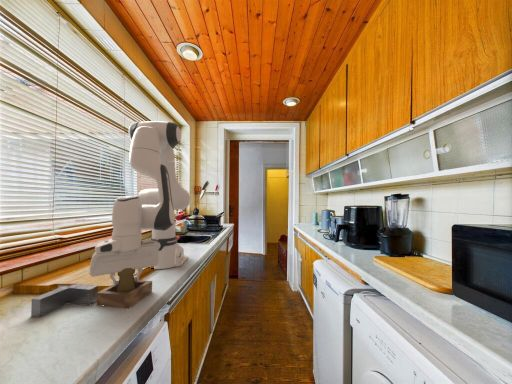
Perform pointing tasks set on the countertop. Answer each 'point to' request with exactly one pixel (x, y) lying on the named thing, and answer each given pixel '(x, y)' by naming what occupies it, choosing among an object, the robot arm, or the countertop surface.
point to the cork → (126, 280)
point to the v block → (63, 298)
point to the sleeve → (123, 295)
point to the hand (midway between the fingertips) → (126, 283)
